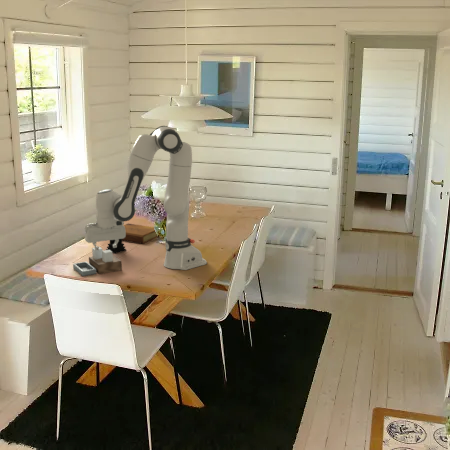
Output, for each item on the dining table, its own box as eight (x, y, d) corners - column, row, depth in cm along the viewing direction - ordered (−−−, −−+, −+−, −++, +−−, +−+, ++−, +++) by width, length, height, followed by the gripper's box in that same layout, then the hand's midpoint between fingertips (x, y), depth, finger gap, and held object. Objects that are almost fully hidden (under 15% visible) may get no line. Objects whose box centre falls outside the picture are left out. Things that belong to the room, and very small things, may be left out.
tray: (86, 266, 302) (86, 261, 302) (96, 274, 291) (96, 269, 290) (73, 268, 299) (73, 263, 298) (82, 276, 287) (82, 271, 287)
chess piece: (126, 250, 328) (125, 215, 323) (114, 253, 323) (113, 218, 317) (117, 247, 334) (116, 213, 328) (106, 250, 328) (104, 215, 323)
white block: (100, 256, 302) (99, 246, 301) (102, 258, 299) (102, 248, 298) (92, 257, 300) (92, 248, 299) (95, 259, 297) (94, 250, 296)
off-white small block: (109, 259, 298) (109, 249, 297) (112, 261, 295) (112, 251, 293) (102, 260, 296) (101, 250, 295) (105, 262, 293) (104, 252, 291)
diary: (110, 239, 351) (110, 230, 349) (128, 232, 367) (128, 223, 366) (143, 244, 341) (142, 235, 340) (160, 236, 357) (159, 227, 356)
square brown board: (111, 262, 308) (110, 253, 307) (121, 270, 297) (121, 260, 296) (89, 266, 302) (88, 257, 301) (99, 274, 291) (98, 264, 289)
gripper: (87, 225, 282) (87, 253, 285) (126, 221, 293) (127, 247, 296) (82, 222, 287) (83, 249, 291) (121, 218, 298) (122, 244, 301)
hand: (105, 248), depth 294 cm, fingers open, 8 cm apart
